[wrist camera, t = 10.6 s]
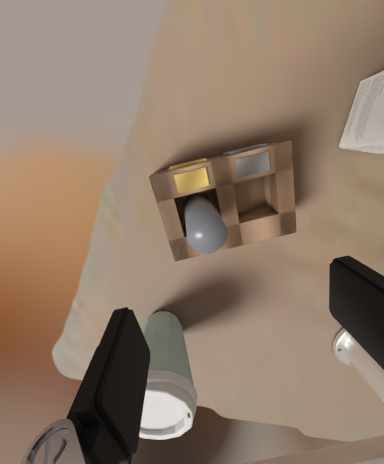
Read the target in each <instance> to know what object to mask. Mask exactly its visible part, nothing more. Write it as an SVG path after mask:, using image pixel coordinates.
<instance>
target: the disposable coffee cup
mask: <svg viewBox="0 0 384 464" xmlns="http://www.w3.org/2000/svg"><path fill="white" fill-rule="evenodd" d="M142 333H143V335H144V338H145V340H146V342H147V344H148V347H149V349H150V364H149V371H148V378H147V385H146V392H145V398H144V405H143V412H142V419H141V426H140V433H139V437H141V438H147V439H157V440H164V439H169V438H173V437H178V436H181V435H182V434H183V433H184V432H186V431H187V430H188V429H190V428H191V427H192V422H193V417H194V415H195V411H196V405H197V392H196V389H195V388H194V385H193V380H192V375H191V370H190V365H189V360H188V355H187V350H186V345H185V340H184V335H183V330H182V325H181V323H180V321H179V320H178V318H177V316H176V315H174V314H172V313H170V312H166V311H159V312H157V313H154V314H152V315H151V316H150V317H149V318H148V320H147V321H146V322H145V323H144V326H143V328H142Z"/></svg>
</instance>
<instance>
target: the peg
mask: <svg viewBox="0 0 384 464" xmlns="http://www.w3.org/2000/svg"><path fill="white" fill-rule="evenodd" d="M184 212H185V222H186V232H187V240H188V243H189V245H190V246H191V247H192V248H193V249H194V250H195V251H197V252H199V253H204V254H209V253H213V252H216V251H218V250H219V249H221V248H222V247H223V245H224V244H225V243H226V240H227V237H228V230H227V227H226V225H225V223H224V222H223V220H222V219H221V217H220V216H219V214H218V213H217V211H216V210H215V208H214V207H213V205H212V204H211V202H210V200H209V199H208V197H207V196H206V195H204V194H203V193H199V192H197V193H193V194H190V195H189V196H188V197H187V198H186V199H185V202H184Z"/></svg>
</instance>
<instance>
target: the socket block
mask: <svg viewBox="0 0 384 464" xmlns="http://www.w3.org/2000/svg"><path fill="white" fill-rule="evenodd" d="M149 178H150V182H151V185H152V188H153V191H154V195H155V198H156V201H157V204H158V208H159V211H160V214H161V217H162V221H163V224H164V227H165V230H166V234H167V237H168V240H169V243H170V247H171V250H172V253H173V256H174V260H175V261H179V260H183V259H187V258H191V257H195V256H200V255H204V253H199V252H197V251H195V250H194V249H193V248H192V247H191V246H190V245H189V243H188V240H187V232H186V222H185V212H184V202H185V199H186V198H187V197H188V196H189V195H190V194H193V193H197V192H199V193H203V194H204V195H206V196H207V197H208V199H209V200H210V202H211V204H212V205H213V207H214V208H215V210H216V211H217V213H218V214H219V216H220V217H221V219H222V220H223V222H224V223H225V225H226V227H227V230H228V237H227V240H226V243H225V244H224V245H223V247H222V248H221V249H219V250H218V251H220V250H224V249H229V248H233V247H237V246H241V245H245V244H249V243H253V242H258V241H262V240H266V239H270V238H274V237H278V236H282V235H287V234H291V233H295V232H296V214H295V195H294V176H293V157H292V140H290V141H282V142H273V143H264V144H256V145H252V146H248V147H245V148H241V149H237V150H233V151H229V152H225V153H223V155H220V156H216V157H212V158H208V159H206V158H202V159H198V160H194V161H190V162H186V163H182V164H178V165H174V166H170V167H169V169H165V170H161V171H157V172H154V173H153V174H152V175H150V176H149Z"/></svg>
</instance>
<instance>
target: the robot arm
mask: <svg viewBox="0 0 384 464" xmlns="http://www.w3.org/2000/svg"><path fill="white" fill-rule="evenodd" d="M329 309H330V312H331V314H332V316H333V317H334V318H335V319H336V320H337V321H338V322H339V323H340V324H341V325H342V327H343V329H342V330H341V331H340V332H339V333H338V334H337V336H336V337H335V339H334V342H333V352H334V354H335V356H336V357H337V358H338V359H339V360H340V361H341V362H343V363H345V364H348V365H353V366H354V367H355V368H356V369H357V371H358V372H359V373H360V374H361V375H362V377H363V378H364V379H365V380H366V381H367V383H368V384H369V385H370V386H371V387H372V389H373V390H374V391H375V392H376V394H377V395H378V396H379V397H380V398H381V400H382V401H383V402H384V276H382V275H381V274H379V273H377V272H376V271H374V270H372V269H371V268H369V267H367V266H366V265H364V264H362V263H361V262H359V261H357V260H356V259H354V258H352V257H350V256H344V257H339V258H335V259H333V262H332V263H331V264H330V291H329ZM149 364H150V349H149V347H148V344H147V342H146V340H145V338H144V335H143V333H142V331H141V328H140V326H139V324H138V321H137V319H136V317H135V315H134V312H133V310H129V309H128V308H127V307H126V308H121V309H117V310H114V312H113V314H112V316H111V318H110V321H109V323H108V325H107V328H106V330H105V332H104V335H103V337H102V339H101V342H100V344H99V346H98V347H97V349H96V351H95V353H94V355H93V358H92V360H91V362H90V365H89V367H88V369H87V372H86V374H85V376H84V378H83V381H82V383H81V386H80V388H79V390H78V392H77V395H76V397H75V399H74V402H73V404H72V406H71V409H70V411H69V413H68V416H67V418H65V419H59V420H57V421H55V422H53V423H51V424H50V425H48V426H47V427H46V428H44V429H43V430H42V431H41V432H40V433H39V435H37V436H36V438H35V439H34V440H33V442H32V443H31V444H30V446H29V447H28V449H27V451H26V453H25V454H24V456H23V459H22V461H21V464H131V459H132V454H134V453H135V452H136V450H137V446H138V439H139V433H140V426H141V419H142V412H143V405H144V398H145V392H146V385H147V378H148V371H149ZM246 464H384V436H379V437H374V438H369V439H364V440H359V441H354V442H349V443H345V444H339V445H334V446H329V447H325V448H320V449H315V450H310V451H305V452H300V453H295V454H290V455H285V456H281V457H275V458H271V459H266V460H261V461H256V462H251V463H246Z"/></svg>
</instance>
